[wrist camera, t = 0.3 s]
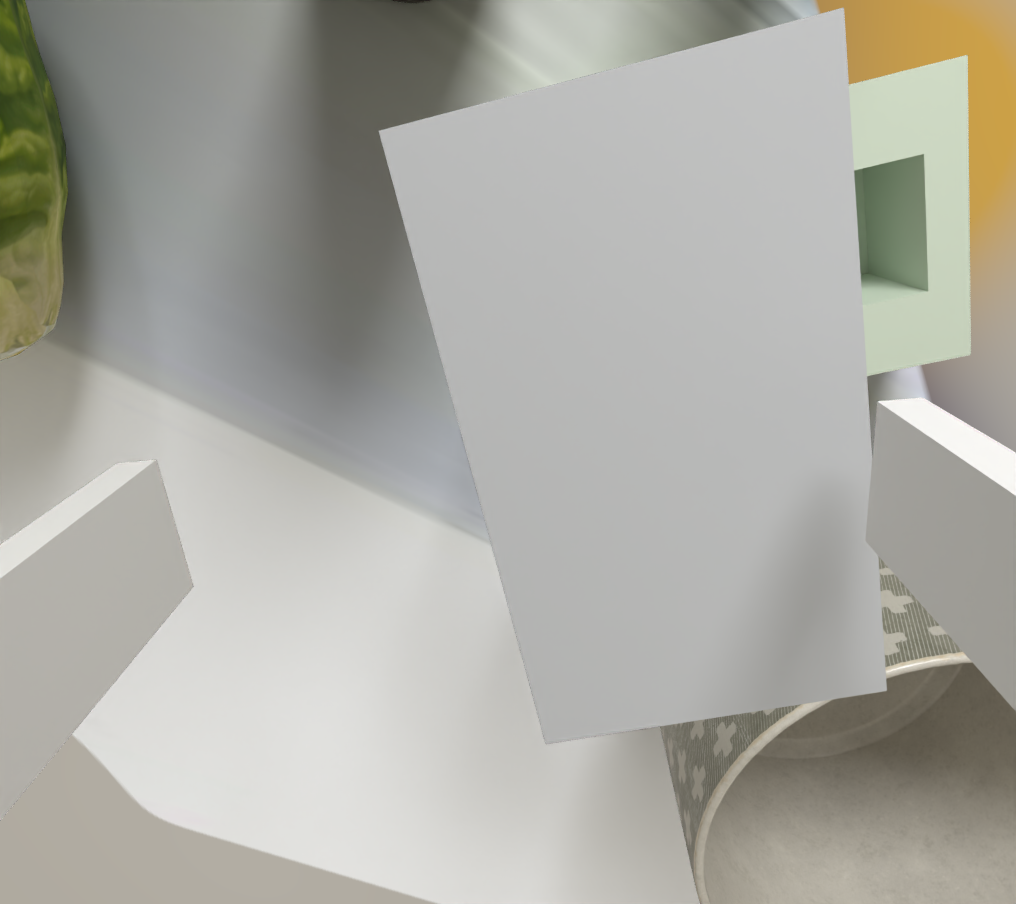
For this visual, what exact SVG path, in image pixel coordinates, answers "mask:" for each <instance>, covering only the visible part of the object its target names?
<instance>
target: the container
mask: <svg viewBox="0 0 1016 904" xmlns="http://www.w3.org/2000/svg"><path fill="white" fill-rule="evenodd" d="M393 1H398V2H405V3H417V2H424V1H430V0H393Z"/></svg>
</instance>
